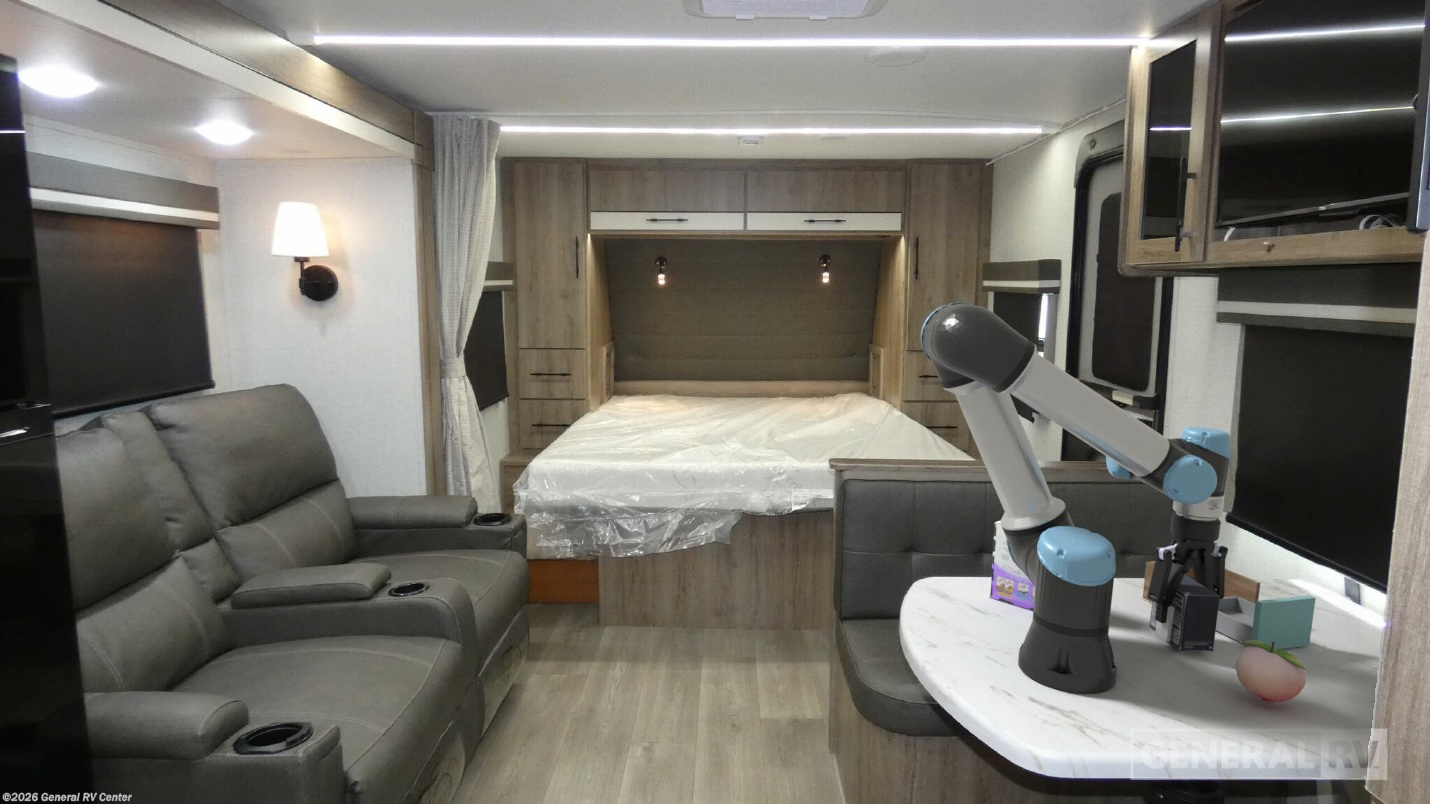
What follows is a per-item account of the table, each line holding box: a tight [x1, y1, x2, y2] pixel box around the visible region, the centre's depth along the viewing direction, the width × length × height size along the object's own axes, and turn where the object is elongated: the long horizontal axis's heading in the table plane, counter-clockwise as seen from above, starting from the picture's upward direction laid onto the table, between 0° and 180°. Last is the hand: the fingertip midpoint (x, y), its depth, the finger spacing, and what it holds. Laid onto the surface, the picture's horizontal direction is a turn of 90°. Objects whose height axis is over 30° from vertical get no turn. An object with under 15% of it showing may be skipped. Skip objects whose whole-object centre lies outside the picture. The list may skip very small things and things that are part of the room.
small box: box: [1148, 575, 1220, 652], centre depth 147 cm, size 11×6×10 cm, turn 0°
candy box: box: [989, 519, 1035, 611], centre depth 164 cm, size 14×6×16 cm, turn 44°
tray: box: [1216, 594, 1317, 650], centre depth 152 cm, size 12×15×9 cm
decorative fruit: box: [1235, 640, 1307, 703], centre depth 127 cm, size 9×8×10 cm
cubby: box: [1142, 560, 1261, 604], centre depth 163 cm, size 13×15×8 cm
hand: (1180, 637), depth 148 cm, fingers closed on small box, 7 cm apart
